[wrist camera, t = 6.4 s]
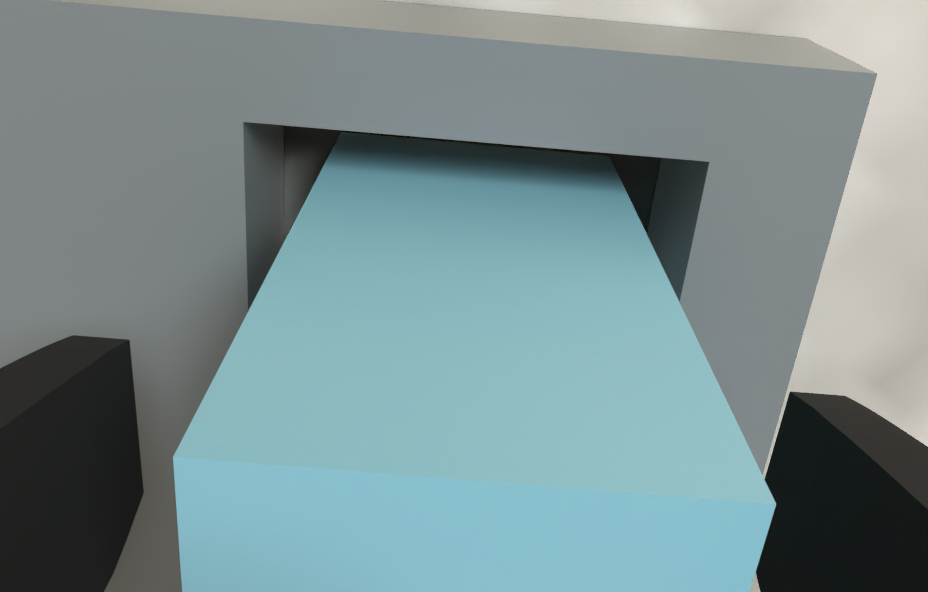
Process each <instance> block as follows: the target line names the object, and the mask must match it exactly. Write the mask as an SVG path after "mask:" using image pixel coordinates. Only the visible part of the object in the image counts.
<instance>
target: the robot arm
mask: <svg viewBox="0 0 928 592" xmlns="http://www.w3.org/2000/svg"><path fill="white" fill-rule="evenodd" d="M765 482H766V484H767V486H768V488H769V490H770V492H771V494H772V496H773V498H774V500H775V502H776V507H775V510H774V513H773V517H772V520H771V523H770V527H769V530H768V533H767V536H766V540H765V543H764V546H763V550H762V553H761V556H760V559H759V563H758V566H757V569H756V575H757V579H758V583H759V587H760V591H761V592H928V447H927V446H925V445H924V444H922V443H921V442H919V441H918V440H916V439H915V438H913V437H912V436H910V435H909V434H907V433H906V432H904V431H903V430H901V429H900V428H898V427H897V426H895V425H894V424H892V423H891V422H889V421H887V420H886V419H884V418H883V417H881V416H880V415H878V414H876V413H875V412H873V411H871V410H870V409H868V408H866V407H865V406H863V405H861V404H859V403H857V402H856V401H854V400H852V399H850V398H848V397H846V396H838V395H825V394H813V393H800V392H790V394H789V397H788V401H787V404H786V408H785V411H784V415H783V418H782V421H781V425H780V428H779V432H778V435H777V439H776V442H775V446H774V449H773V453H772V456H771V460H770V463H769V467H768V470H767V473H766V477H765ZM143 494H144V489H143V479H142V468H141V457H140V446H139V436H138V425H137V414H136V403H135V393H134V382H133V371H132V361H131V350H130V340H127V339H115V338H102V337H89V336H77V335H72V336H69V337H67V338H64V339H62V340H59V341H56V342H54V343H52V344H50V345H47V346H45V347H43V348H41V349H39V350H36V351H34V352H32V353H30V354H28V355H26V356H24V357H22V358H20V359H18V360H16V361H14V362H12V363H10V364H8V365H6V366H4V367H2V368H0V592H104V591H105V589H106V587H107V585H108V583H109V581H110V579H111V577H112V575H113V573H114V571H115V568H116V566H117V563H118V561H119V558H120V556H121V553H122V550H123V548H124V545H125V543H126V540H127V538H128V535H129V532H130V530H131V527H132V524H133V521H134V518H135V516H136V513H137V510H138V507H139V505H140V502H141V499H142V496H143Z"/></svg>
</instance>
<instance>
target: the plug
mask: <svg viewBox="0 0 928 592" xmlns="http://www.w3.org/2000/svg"><path fill="white" fill-rule="evenodd" d="M173 465H174V480H175V494H176V509H177V523H178V538H179V552H180V567H181V581H182V592H750V589H751V586H752V582H753V579H754V576H755V572H756V569H757V566H758V563H759V559H760V556H761V553H762V550H763V546H764V543H765V540H766V536H767V533H768V530H769V527H770V523H771V520H772V517H773V513H774V510H775V507H776V502H775V500H774V498H773V496H772V494H771V492H770V490H769V488H768V486H767V484H766V482H765V480H764V477H763V475H762V473H761V471H760V469H759V467H758V465H757V463H756V461H755V459H754V457H753V455H752V452H751V450H750V448H749V446H748V444H747V442H746V440H745V438H744V436H743V434H742V432H741V430H740V427H739V425H738V423H737V421H736V419H735V417H734V415H733V413H732V411H731V409H730V407H729V405H728V402H727V400H726V398H725V396H724V394H723V392H722V390H721V388H720V386H719V384H718V382H717V379H716V377H715V375H714V373H713V371H712V369H711V367H710V365H709V363H708V361H707V359H706V357H705V354H704V352H703V350H702V348H701V346H700V344H699V342H698V340H697V338H696V336H695V334H694V332H693V329H692V327H691V325H690V323H689V321H688V319H687V317H686V315H685V313H684V311H683V309H682V307H681V304H680V302H679V300H678V298H677V296H676V294H675V292H674V290H673V288H672V286H671V284H670V282H669V279H668V277H667V275H666V273H665V271H664V269H663V267H662V265H661V263H660V261H659V259H658V256H657V254H656V252H655V250H654V248H653V246H652V244H651V242H650V240H649V238H648V236H647V234H646V231H645V229H644V227H643V225H642V223H641V221H640V219H639V217H638V215H637V213H636V211H635V209H634V206H633V204H632V202H631V200H630V198H629V196H628V194H627V192H626V190H625V188H624V186H623V184H622V181H621V179H620V177H619V175H618V173H617V171H616V169H615V167H614V165H613V163H612V161H611V158H610V156H602V155H591V154H580V153H569V152H557V151H546V150H535V149H524V148H512V147H501V146H490V145H479V144H467V143H456V142H445V141H434V140H422V139H411V138H400V137H389V136H377V135H366V134H355V133H344V132H341V133H340V135H339V137H338V139H337V141H336V143H335V145H334V146H333V148H332V150H331V152H330V154H329V156H328V158H327V160H326V162H325V164H324V166H323V168H322V170H321V172H320V174H319V175H318V177H317V179H316V181H315V183H314V185H313V187H312V189H311V191H310V193H309V195H308V197H307V199H306V201H305V203H304V205H303V206H302V208H301V210H300V212H299V214H298V216H297V218H296V220H295V222H294V224H293V226H292V228H291V230H290V232H289V234H288V235H287V237H286V239H285V241H284V243H283V245H282V247H281V249H280V251H279V253H278V255H277V257H276V259H275V261H274V263H273V265H272V266H271V268H270V270H269V272H268V274H267V276H266V278H265V280H264V282H263V284H262V286H261V288H260V290H259V292H258V294H257V296H256V297H255V299H254V301H253V303H252V305H251V307H250V309H249V311H248V313H247V315H246V317H245V319H244V321H243V323H242V325H241V326H240V328H239V330H238V332H237V334H236V336H235V338H234V340H233V342H232V344H231V346H230V348H229V350H228V352H227V354H226V356H225V357H224V359H223V361H222V363H221V365H220V367H219V369H218V371H217V373H216V375H215V377H214V379H213V381H212V383H211V385H210V386H209V388H208V390H207V392H206V394H205V396H204V398H203V400H202V402H201V404H200V406H199V408H198V410H197V412H196V414H195V416H194V417H193V419H192V421H191V423H190V425H189V427H188V429H187V431H186V433H185V435H184V437H183V439H182V441H181V443H180V445H179V447H178V448H177V450H176V452H175V454H174V456H173Z"/></svg>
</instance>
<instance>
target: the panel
mask: <svg viewBox="0 0 928 592" xmlns="http://www.w3.org/2000/svg"><path fill="white" fill-rule="evenodd" d="M876 76H877V73H875V72H873V71H871V70H869V69H867V68H865V67H863V66H861V65H859V64H857V63H855V62H853V61H851V60H849V59H847V58H845V57H843V56H840V55H838V54H836V53H834V52H832V51H830V50H828V49H826V48H824V47H822V46H820V45H818V44H816V43H814V42H812V41H810V40H808V39H806V38H795V37H784V36H773V35H762V34H751V33H739V32H728V31H717V30H706V29H695V28H684V27H672V26H661V25H650V24H639V23H628V22H617V21H605V20H594V19H583V18H572V17H561V16H549V15H538V14H527V13H516V12H505V11H494V10H482V9H471V8H460V7H449V6H438V5H426V4H415V3H404V2H393V1H382V0H0V368H2V367H4V366H6V365H8V364H10V363H12V362H14V361H16V360H18V359H20V358H22V357H24V356H26V355H28V354H30V353H32V352H34V351H36V350H39V349H41V348H43V347H45V346H47V345H50V344H52V343H54V342H56V341H59V340H62V339H64V338H67V337H69V336H72V335H77V336H89V337H102V338H115V339H127V340H130V350H131V361H132V371H133V382H134V393H135V403H136V414H137V425H138V436H139V446H140V457H141V468H142V479H143V489H144V494H143V496H142V499H141V502H140V505H139V507H138V510H137V513H136V516H135V518H134V521H133V524H132V527H131V530H130V532H129V535H128V538H127V540H126V543H125V545H124V548H123V550H122V553H121V556H120V558H119V561H118V563H117V566H116V568H115V571H114V573H113V575H112V577H111V579H110V581H109V583H108V585H107V587H106V589H105V591H104V592H182V581H181V567H180V552H179V538H178V523H177V509H176V494H175V480H174V465H173V456H174V454H175V452H176V450H177V448H178V447H179V445H180V443H181V441H182V439H183V437H184V435H185V433H186V431H187V429H188V427H189V425H190V423H191V421H192V419H193V417H194V416H195V414H196V412H197V410H198V408H199V406H200V404H201V402H202V400H203V398H204V396H205V394H206V392H207V390H208V388H209V386H210V385H211V383H212V381H213V379H214V377H215V375H216V373H217V371H218V369H219V367H220V365H221V363H222V361H223V359H224V357H225V356H226V354H227V352H228V350H229V348H230V346H231V344H232V342H233V340H234V338H235V336H236V334H237V332H238V330H239V328H240V326H241V325H242V323H243V321H244V319H245V317H246V315H247V313H248V311H249V309H250V307H251V305H252V303H253V301H254V299H255V297H256V296H257V294H258V292H259V290H260V288H261V286H262V284H263V282H264V280H265V278H266V276H267V274H268V272H269V270H270V268H271V266H272V265H273V263H274V261H275V259H276V257H277V255H278V253H279V251H280V249H281V247H282V245H283V243H284V153H283V125H285V126H297V127H308V128H320V129H332V130H343V131H355V132H367V133H379V134H390V135H402V136H414V137H425V138H437V139H449V140H460V141H472V142H484V143H496V144H507V145H519V146H531V147H542V148H554V149H566V150H577V151H589V152H601V153H612V154H624V155H636V156H648V157H659V158H661V162H660V167H659V172H658V178H657V183H656V188H655V194H654V199H653V204H652V210H651V215H650V220H649V226H648V231H647V236H648V238H649V240H650V242H651V244H652V246H653V248H654V250H655V252H656V254H657V256H658V259H659V261H660V263H661V265H662V267H663V269H664V271H665V273H666V275H667V277H668V279H669V282H670V284H671V286H672V288H673V290H674V292H675V294H676V296H677V298H678V300H679V302H680V304H681V307H682V309H683V311H684V313H685V315H686V317H687V319H688V321H689V323H690V325H691V327H692V329H693V332H694V334H695V336H696V338H697V340H698V342H699V344H700V346H701V348H702V350H703V352H704V354H705V357H706V359H707V361H708V363H709V365H710V367H711V369H712V371H713V373H714V375H715V377H716V379H717V382H718V384H719V386H720V388H721V390H722V392H723V394H724V396H725V398H726V400H727V402H728V405H729V407H730V409H731V411H732V413H733V415H734V417H735V419H736V421H737V423H738V425H739V427H740V430H741V432H742V434H743V436H744V438H745V440H746V442H747V444H748V446H749V448H750V450H751V452H752V455H753V457H754V459H755V461H756V463H757V465H758V467H759V469H760V471H761V473H762V475H763V471H764V468H765V464H766V461H767V457H768V454H769V450H770V447H771V443H772V440H773V436H774V433H775V429H776V426H777V422H778V419H779V415H780V412H781V408H782V405H783V401H784V398H785V394H786V391H787V387H788V384H789V380H790V377H791V373H792V370H793V366H794V363H795V359H796V356H797V352H798V349H799V345H800V342H801V338H802V335H803V331H804V328H805V324H806V321H807V317H808V314H809V310H810V307H811V303H812V300H813V296H814V293H815V289H816V286H817V282H818V279H819V275H820V272H821V268H822V265H823V261H824V258H825V254H826V251H827V247H828V244H829V240H830V237H831V233H832V230H833V226H834V223H835V220H836V216H837V213H838V209H839V206H840V202H841V199H842V195H843V192H844V188H845V185H846V181H847V178H848V174H849V171H850V167H851V164H852V160H853V157H854V153H855V150H856V146H857V143H858V139H859V136H860V132H861V129H862V125H863V122H864V118H865V115H866V111H867V108H868V104H869V101H870V97H871V94H872V90H873V87H874V83H875V80H876Z"/></svg>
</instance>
